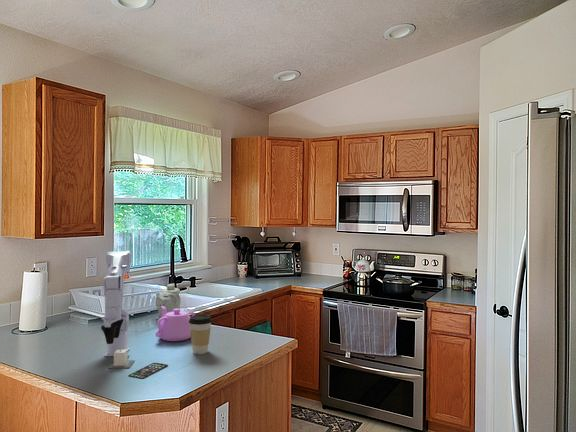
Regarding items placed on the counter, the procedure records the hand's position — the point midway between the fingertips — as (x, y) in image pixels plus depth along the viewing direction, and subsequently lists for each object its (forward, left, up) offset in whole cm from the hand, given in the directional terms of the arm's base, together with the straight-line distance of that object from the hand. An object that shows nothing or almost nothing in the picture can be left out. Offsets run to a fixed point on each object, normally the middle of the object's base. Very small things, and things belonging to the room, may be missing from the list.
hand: (112, 340), depth 174 cm
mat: (0, +3, -10) cm, 10 cm away
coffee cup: (-14, +32, -10) cm, 37 cm away
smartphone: (+7, +15, -10) cm, 20 cm away
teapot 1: (-74, +7, -10) cm, 75 cm away
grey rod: (-7, +3, -10) cm, 13 cm away
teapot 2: (-37, +17, -10) cm, 42 cm away
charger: (0, +3, -9) cm, 10 cm away
